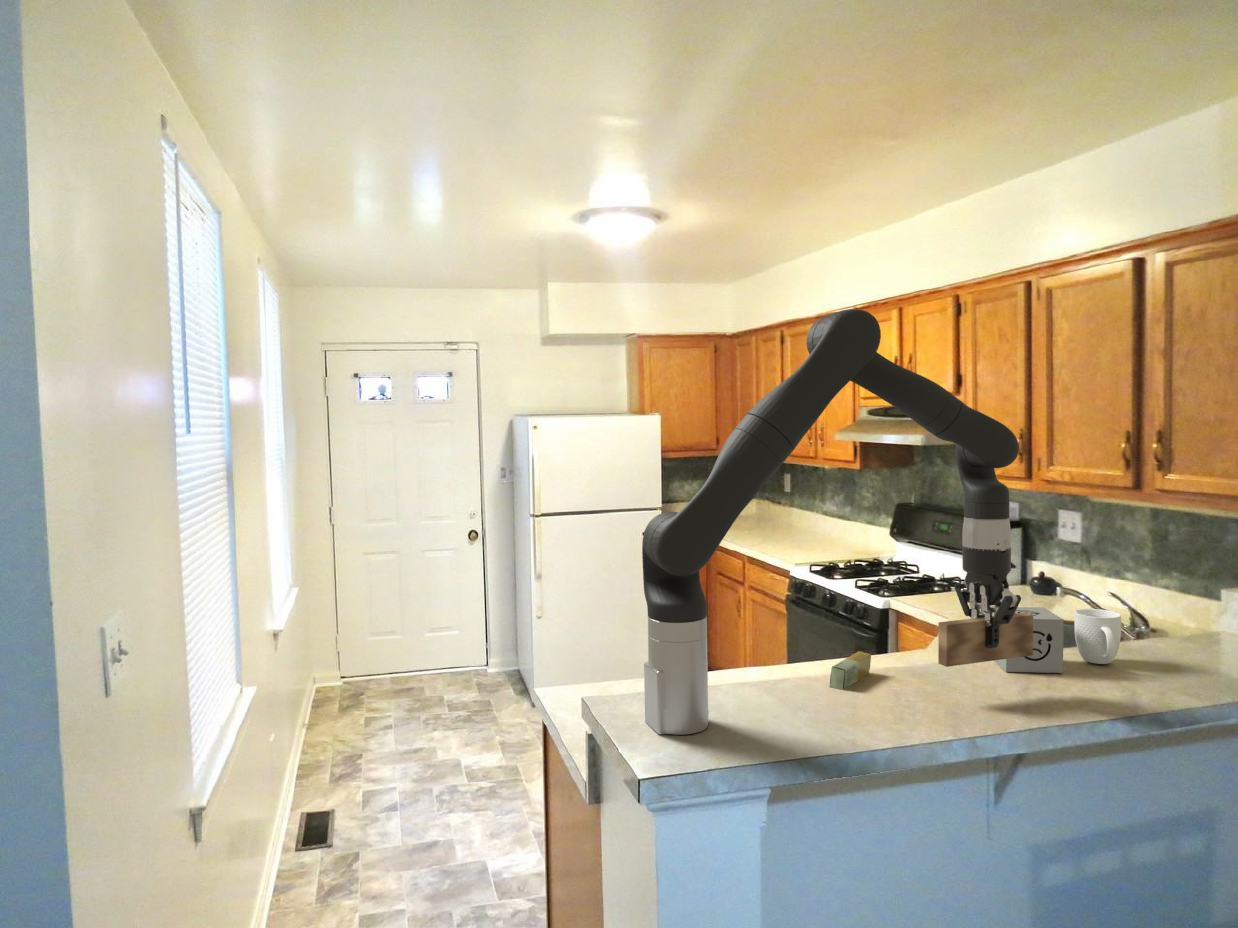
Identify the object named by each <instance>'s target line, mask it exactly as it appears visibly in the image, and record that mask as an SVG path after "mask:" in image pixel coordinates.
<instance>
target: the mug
mask: <svg viewBox="0 0 1238 928" xmlns="http://www.w3.org/2000/svg"><path fill="white" fill-rule="evenodd" d="M1073 625H1074V639H1075V643H1076V648H1077V650H1078V653H1079V655H1080V657H1081V658H1082V660H1083V661H1085V662H1087V663H1091V664H1098V665H1107V664H1111V663H1112V662H1113V661H1114V659H1115V658H1116V657H1117V655H1118V651H1119V649H1120V645H1121V644H1120V643H1121V637H1122V636H1121V635H1122V615H1121V614H1120V613H1118V612H1117V611H1116V612H1115V611H1111V610H1106V609H1098V608H1096V609H1095V608H1079V609H1076V610H1075V611H1074V624H1073Z"/></svg>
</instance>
